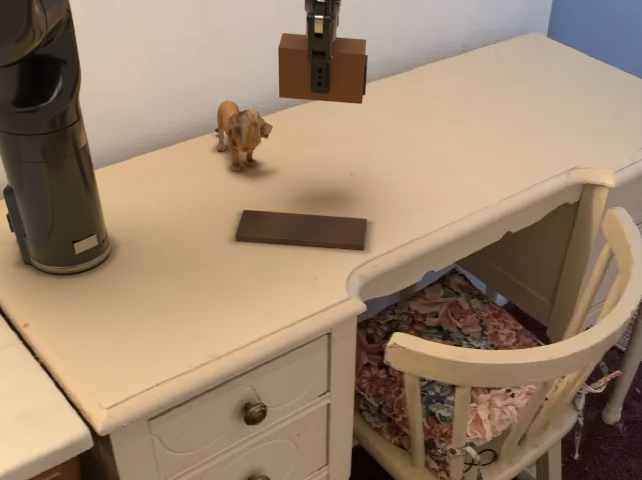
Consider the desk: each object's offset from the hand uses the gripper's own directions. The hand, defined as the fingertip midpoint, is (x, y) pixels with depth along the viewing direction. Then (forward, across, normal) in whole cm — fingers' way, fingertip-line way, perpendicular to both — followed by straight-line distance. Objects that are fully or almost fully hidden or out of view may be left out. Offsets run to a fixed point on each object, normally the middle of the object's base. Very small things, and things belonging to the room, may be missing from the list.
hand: (321, 82), depth 101 cm
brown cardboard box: (+1, 0, 0) cm, 1 cm away
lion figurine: (+16, +10, +12) cm, 22 cm away
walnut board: (+16, -8, +2) cm, 18 cm away
